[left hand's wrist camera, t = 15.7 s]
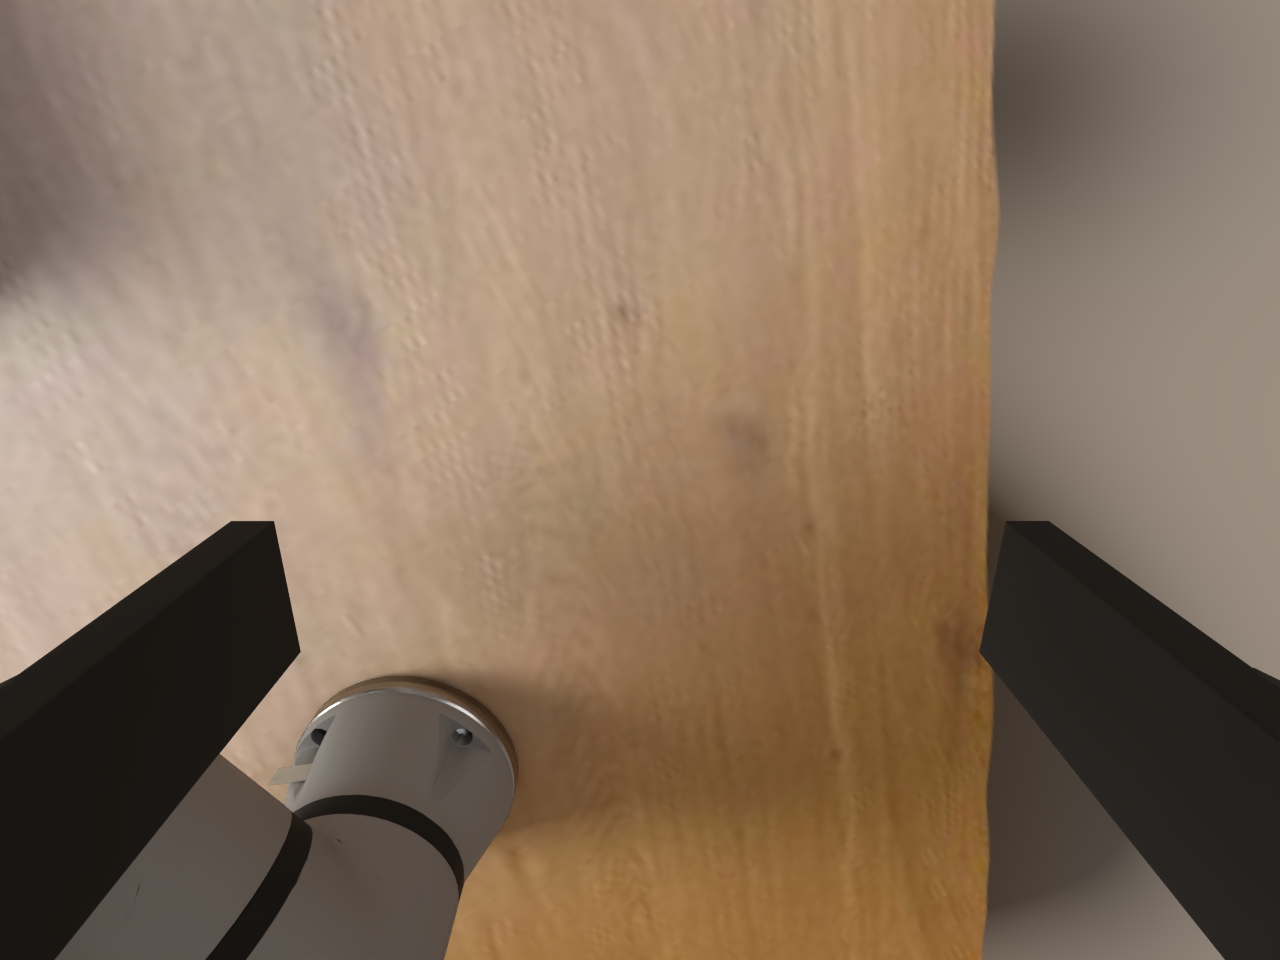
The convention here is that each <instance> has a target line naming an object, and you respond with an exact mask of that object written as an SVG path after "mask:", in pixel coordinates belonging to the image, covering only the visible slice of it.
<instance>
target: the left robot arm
mask: <svg viewBox="0 0 1280 960" xmlns="http://www.w3.org/2000/svg"><path fill="white" fill-rule="evenodd" d="M300 652H301V651H300V646H299V641H298V637H297V632H296V627H295V622H294V617H293V612H292V607H291V602H290V597H289V593H288V588H287V583H286V578H285V573H284V568H283V563H282V558H281V553H280V548H279V544H278V539H277V534H276V529H275V524H274V521H231V522H229V523H228V524H227V525H225V526H224V527H222V528H221V529H220V530H218V531H217V532H216V533H214V534H213V535H211V536H210V537H209V538H207V539H206V540H204V541H203V542H202V543H200V544H199V545H197V546H196V547H195V548H193V549H192V550H191V551H189V552H188V553H186V554H185V555H184V556H182V557H181V558H179V559H178V560H177V561H175V562H174V563H173V564H171V565H170V566H168V567H167V568H166V569H164V570H163V571H161V572H160V573H159V574H157V575H156V576H154V577H153V578H152V579H150V580H149V581H148V582H146V583H145V584H143V585H142V586H141V587H139V588H138V589H136V590H135V591H134V592H132V593H131V594H130V595H128V596H127V597H125V598H124V599H123V600H121V601H120V602H118V603H117V604H116V605H114V606H113V607H111V608H110V609H109V610H107V611H106V612H105V613H103V614H102V615H100V616H99V617H98V618H96V619H95V620H93V621H92V622H91V623H89V624H88V625H87V626H85V627H84V628H82V629H81V630H80V631H78V632H77V633H75V634H74V635H73V636H71V637H70V638H68V639H67V640H66V641H64V642H63V643H62V644H60V645H59V646H57V647H56V648H55V649H53V650H52V651H50V652H49V653H48V654H46V655H45V656H44V657H42V658H41V659H39V660H38V661H37V662H35V663H34V664H32V665H31V666H30V667H28V668H27V669H26V670H24V671H23V672H21V673H20V674H19V675H17V676H15V677H13V678H10V679H8V680H6V681H4V682H2V683H0V960H444V958H445V954H446V950H447V946H448V942H449V938H450V935H451V931H452V927H453V923H454V919H455V916H456V912H457V908H458V903H459V900H460V896H461V892H462V889H463V885H464V882H465V881H466V879H467V878H468V876H469V875H470V873H471V872H472V870H473V869H474V867H475V866H476V864H477V863H478V861H479V860H480V858H481V857H482V855H483V854H484V853H485V851H486V850H487V848H488V847H489V845H490V844H491V842H492V841H493V839H494V838H495V836H496V835H497V833H498V832H499V830H500V829H501V827H502V825H503V824H504V822H505V820H506V818H507V816H508V814H509V812H510V809H511V806H512V802H513V798H514V793H515V789H516V784H517V778H518V763H517V756H516V753H515V749H514V746H513V744H512V741H511V739H510V737H509V735H508V734H507V732H506V730H505V729H504V727H503V726H502V724H501V723H500V722H499V721H498V720H497V718H496V717H495V716H494V715H493V714H492V713H491V712H490V711H489V710H488V709H486V708H485V707H484V706H483V705H482V704H480V703H479V702H478V701H476V700H475V699H473V698H472V697H470V696H468V695H466V694H465V693H463V692H461V691H459V690H457V689H455V688H452V687H450V686H447V685H444V684H442V683H438V682H435V681H431V680H426V679H421V678H413V677H385V678H377V679H372V680H368V681H364V682H361V683H358V684H355V685H353V686H351V687H348V688H346V689H344V690H343V691H341V692H339V693H338V694H336V695H335V696H333V697H332V698H331V699H329V700H328V701H327V702H326V703H325V704H324V705H323V706H322V707H321V708H320V709H319V711H318V712H317V713H316V715H315V716H314V718H313V719H312V721H311V722H310V724H309V725H308V727H307V728H306V730H305V731H304V733H303V735H302V736H301V738H300V740H299V743H298V745H297V748H296V752H295V755H294V759H293V763H292V766H291V767H284V768H279V769H278V770H277V772H276V773H275V775H274V776H273V778H272V779H271V781H270V782H269V784H268V785H267V786H270V785H277V784H284V783H289V784H288V789H287V794H286V799H285V804H282V803H281V802H280V801H279V800H277V799H276V798H275V797H273V796H272V795H271V794H270V793H268V792H267V791H266V790H265V789H263V788H262V787H261V786H260V785H258V784H257V783H256V782H255V781H253V780H252V779H251V778H249V777H248V776H247V775H246V774H244V773H243V772H242V771H241V770H239V769H238V768H237V767H236V766H234V765H233V764H232V763H231V762H229V761H228V760H227V759H225V758H224V757H223V756H222V755H220V754H219V753H220V752H221V751H222V750H223V748H224V747H225V746H226V745H227V743H228V742H229V741H230V740H231V738H232V737H233V736H234V735H235V733H236V732H237V731H238V730H239V728H240V727H241V726H242V725H243V723H244V722H245V721H246V720H247V718H248V717H249V716H250V715H251V713H252V712H253V711H254V710H255V708H256V707H257V706H258V705H259V703H260V702H261V701H262V700H263V698H264V697H265V696H266V695H267V693H268V692H269V691H270V690H271V688H272V687H273V686H274V685H275V683H276V682H277V681H278V680H279V678H280V677H281V676H282V675H283V673H284V672H285V671H286V670H287V668H288V667H289V666H290V664H291V663H292V662H293V661H294V659H295V658H296V657H297V656H298V654H299V653H300ZM979 652H980V653H981V654H982V656H983V657H984V658H985V659H986V661H987V662H988V663H989V664H990V666H991V667H992V668H993V670H994V671H995V672H996V673H997V675H998V676H999V677H1000V678H1001V680H1002V681H1003V682H1004V683H1005V685H1006V686H1007V687H1008V688H1009V689H1010V691H1011V692H1012V693H1013V695H1014V696H1015V697H1016V698H1017V700H1018V701H1019V702H1020V703H1021V705H1022V706H1023V707H1024V708H1025V710H1026V711H1027V712H1028V713H1029V715H1030V716H1031V717H1032V718H1033V720H1034V721H1035V722H1036V723H1037V725H1038V726H1039V727H1040V728H1041V730H1042V731H1043V732H1044V733H1045V735H1046V736H1047V737H1048V738H1049V740H1050V741H1051V742H1052V743H1053V745H1054V746H1055V747H1056V748H1057V750H1058V751H1059V752H1060V753H1061V755H1062V756H1063V757H1064V759H1065V760H1066V761H1067V762H1068V763H1069V765H1070V766H1071V767H1072V769H1073V770H1074V771H1075V772H1076V774H1077V775H1078V776H1079V777H1080V778H1081V780H1082V781H1083V782H1084V784H1085V785H1086V786H1087V787H1088V789H1089V790H1090V791H1091V792H1092V794H1093V795H1094V796H1095V797H1096V799H1097V800H1098V801H1099V802H1100V804H1101V805H1102V806H1103V807H1104V809H1105V810H1106V811H1107V812H1108V814H1109V815H1110V816H1111V817H1112V819H1113V820H1114V821H1115V822H1116V824H1117V825H1118V826H1119V827H1120V829H1121V830H1122V831H1123V832H1124V834H1125V835H1126V836H1127V837H1128V839H1129V840H1130V841H1131V842H1132V844H1133V845H1134V846H1135V847H1136V849H1137V850H1138V851H1139V852H1140V854H1141V855H1142V856H1143V857H1144V859H1145V860H1146V861H1147V863H1148V864H1149V865H1150V866H1151V867H1152V869H1153V870H1154V871H1155V873H1156V874H1157V875H1158V876H1159V878H1160V879H1161V880H1162V881H1163V883H1164V884H1165V885H1166V886H1167V888H1168V889H1169V890H1170V891H1171V893H1172V894H1173V895H1174V896H1175V898H1176V899H1177V900H1178V901H1179V903H1180V904H1181V905H1182V906H1183V908H1184V909H1185V910H1186V911H1187V913H1188V914H1189V915H1190V916H1191V918H1192V919H1193V920H1194V921H1195V923H1196V924H1197V925H1198V926H1199V928H1200V929H1201V930H1202V931H1203V933H1204V934H1205V935H1206V936H1207V938H1208V939H1209V940H1210V941H1211V943H1212V944H1213V945H1214V947H1215V948H1216V949H1217V950H1218V952H1219V953H1220V954H1221V955H1222V957H1223V958H1224V959H1225V960H1280V680H1278V679H1276V678H1274V677H1272V676H1270V675H1268V674H1266V673H1263V672H1261V671H1259V670H1257V669H1255V668H1252V667H1250V666H1249V665H1248V664H1246V663H1245V662H1243V661H1242V660H1241V659H1239V658H1238V657H1236V656H1235V655H1234V654H1232V653H1231V652H1230V651H1228V650H1227V649H1225V648H1224V647H1223V646H1221V645H1220V644H1218V643H1217V642H1216V641H1214V640H1213V639H1211V638H1210V637H1209V636H1207V635H1206V634H1205V633H1203V632H1202V631H1200V630H1199V629H1198V628H1196V627H1195V626H1193V625H1192V624H1191V623H1189V622H1188V621H1187V620H1185V619H1184V618H1182V617H1181V616H1180V615H1178V614H1177V613H1175V612H1174V611H1173V610H1171V609H1170V608H1169V607H1167V606H1166V605H1164V604H1163V603H1162V602H1160V601H1159V600H1157V599H1156V598H1155V597H1153V596H1152V595H1150V594H1149V593H1148V592H1146V591H1145V590H1143V589H1142V588H1141V587H1139V586H1138V585H1137V584H1135V583H1134V582H1132V581H1131V580H1130V579H1128V578H1127V577H1126V576H1124V575H1123V574H1121V573H1120V572H1119V571H1117V570H1116V569H1114V568H1113V567H1112V566H1110V565H1109V564H1107V563H1106V562H1105V561H1103V560H1102V559H1101V558H1099V557H1098V556H1096V555H1095V554H1094V553H1092V552H1091V551H1089V550H1088V549H1087V548H1085V547H1084V546H1083V545H1081V544H1080V543H1078V542H1077V541H1076V540H1074V539H1073V538H1071V537H1070V536H1069V535H1067V534H1066V533H1064V532H1063V531H1062V530H1060V529H1059V528H1058V527H1056V526H1055V525H1053V524H1052V523H1051V522H1049V521H1006V524H1005V529H1004V534H1003V539H1002V544H1001V549H1000V553H999V558H998V563H997V568H996V573H995V578H994V583H993V588H992V593H991V597H990V602H989V607H988V612H987V617H986V622H985V627H984V632H983V637H982V641H981V646H980V651H979Z"/></svg>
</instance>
